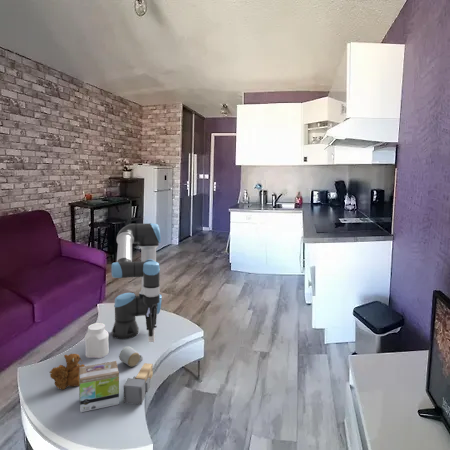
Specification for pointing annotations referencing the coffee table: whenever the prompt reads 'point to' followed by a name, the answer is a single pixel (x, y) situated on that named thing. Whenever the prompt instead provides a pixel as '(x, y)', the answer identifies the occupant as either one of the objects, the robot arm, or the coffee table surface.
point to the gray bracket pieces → (135, 390)
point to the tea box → (98, 386)
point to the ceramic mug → (130, 356)
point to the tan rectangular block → (145, 372)
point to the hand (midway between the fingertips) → (151, 341)
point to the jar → (96, 341)
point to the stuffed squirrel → (67, 372)
